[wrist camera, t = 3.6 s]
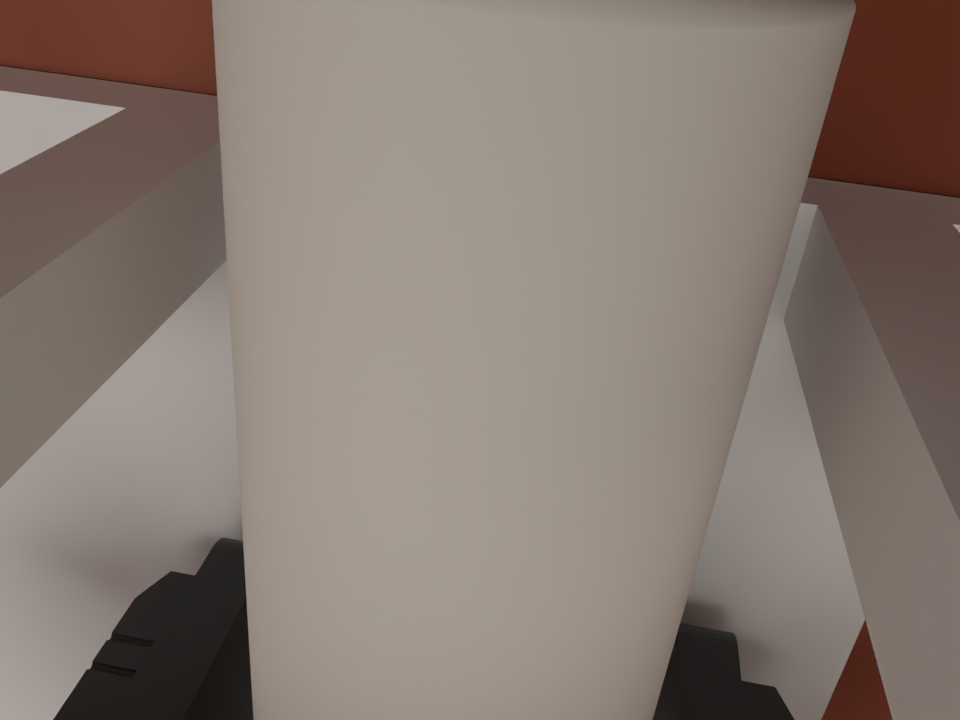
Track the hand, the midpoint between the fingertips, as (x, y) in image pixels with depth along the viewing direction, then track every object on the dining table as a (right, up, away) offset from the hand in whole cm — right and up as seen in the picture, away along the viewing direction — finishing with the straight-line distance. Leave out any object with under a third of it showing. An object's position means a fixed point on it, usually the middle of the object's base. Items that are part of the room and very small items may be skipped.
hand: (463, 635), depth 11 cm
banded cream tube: (0, 0, 0) cm, 0 cm away
